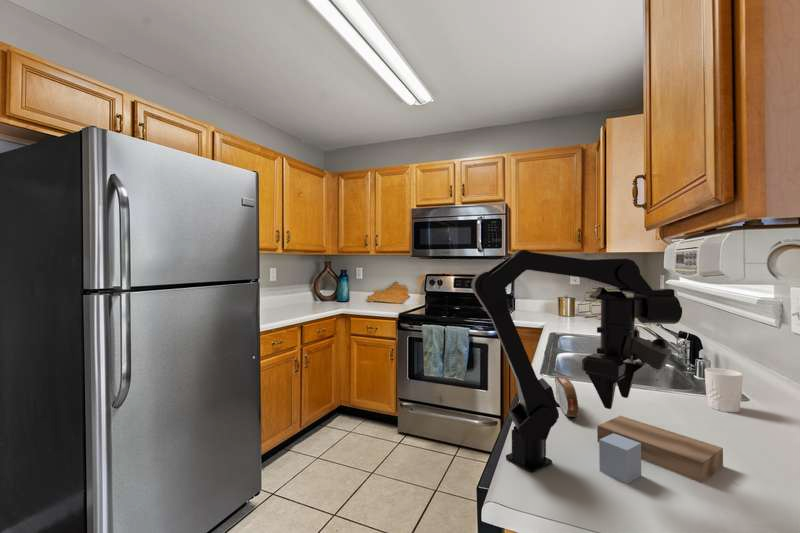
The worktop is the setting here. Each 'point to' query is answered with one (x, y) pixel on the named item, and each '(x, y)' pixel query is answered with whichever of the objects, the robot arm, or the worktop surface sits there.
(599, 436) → the walnut block
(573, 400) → the tin
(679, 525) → the worktop surface
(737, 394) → the white cup
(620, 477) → the gray block
